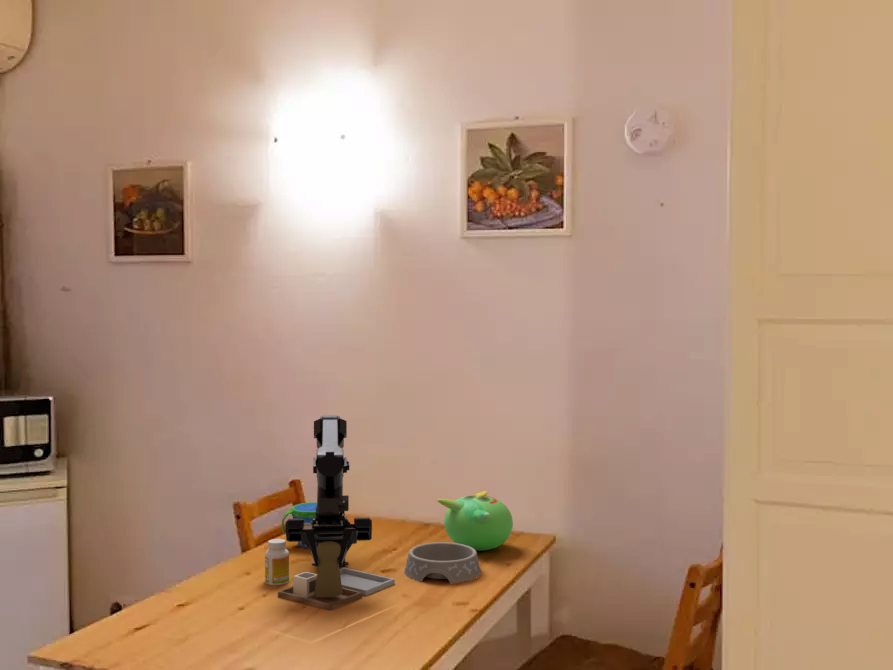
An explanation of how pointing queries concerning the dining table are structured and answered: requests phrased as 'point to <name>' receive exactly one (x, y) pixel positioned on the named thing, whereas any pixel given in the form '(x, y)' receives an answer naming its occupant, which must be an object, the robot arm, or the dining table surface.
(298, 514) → the snack cup
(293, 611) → the dining table surface
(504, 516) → the green creature toy
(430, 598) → the dining table surface
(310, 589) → the beige and grey cube
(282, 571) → the supplement bottle
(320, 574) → the brown rounded upright piece
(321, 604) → the walnut tray
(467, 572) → the dog bowl
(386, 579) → the grey tray
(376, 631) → the dining table surface
